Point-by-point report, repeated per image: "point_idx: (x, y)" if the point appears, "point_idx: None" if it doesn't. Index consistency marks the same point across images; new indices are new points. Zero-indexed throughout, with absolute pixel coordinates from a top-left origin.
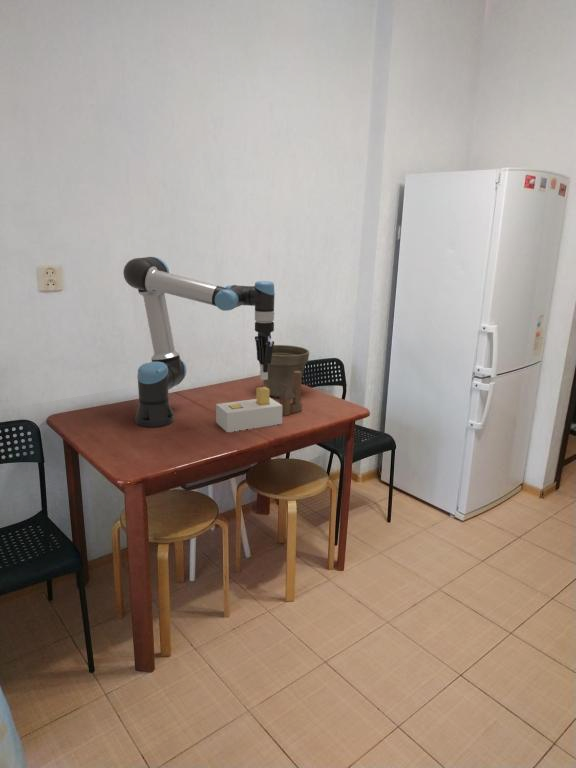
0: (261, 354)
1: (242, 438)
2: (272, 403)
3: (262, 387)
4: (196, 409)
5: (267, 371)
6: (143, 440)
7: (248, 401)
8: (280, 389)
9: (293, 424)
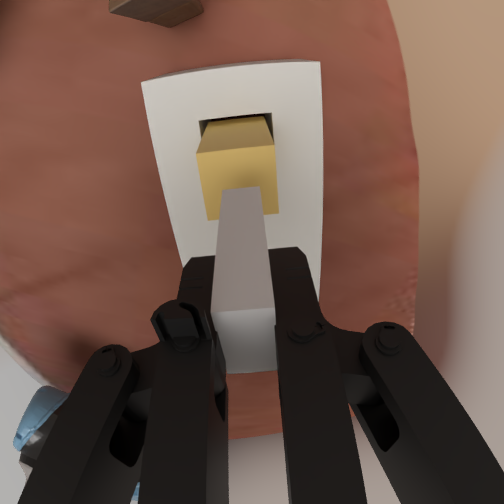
0: (225, 492)
1: (367, 242)
2: (266, 100)
3: (208, 179)
4: (81, 298)
5: (302, 252)
6: (272, 396)
7: (192, 212)
8: (136, 12)
9: (320, 17)
